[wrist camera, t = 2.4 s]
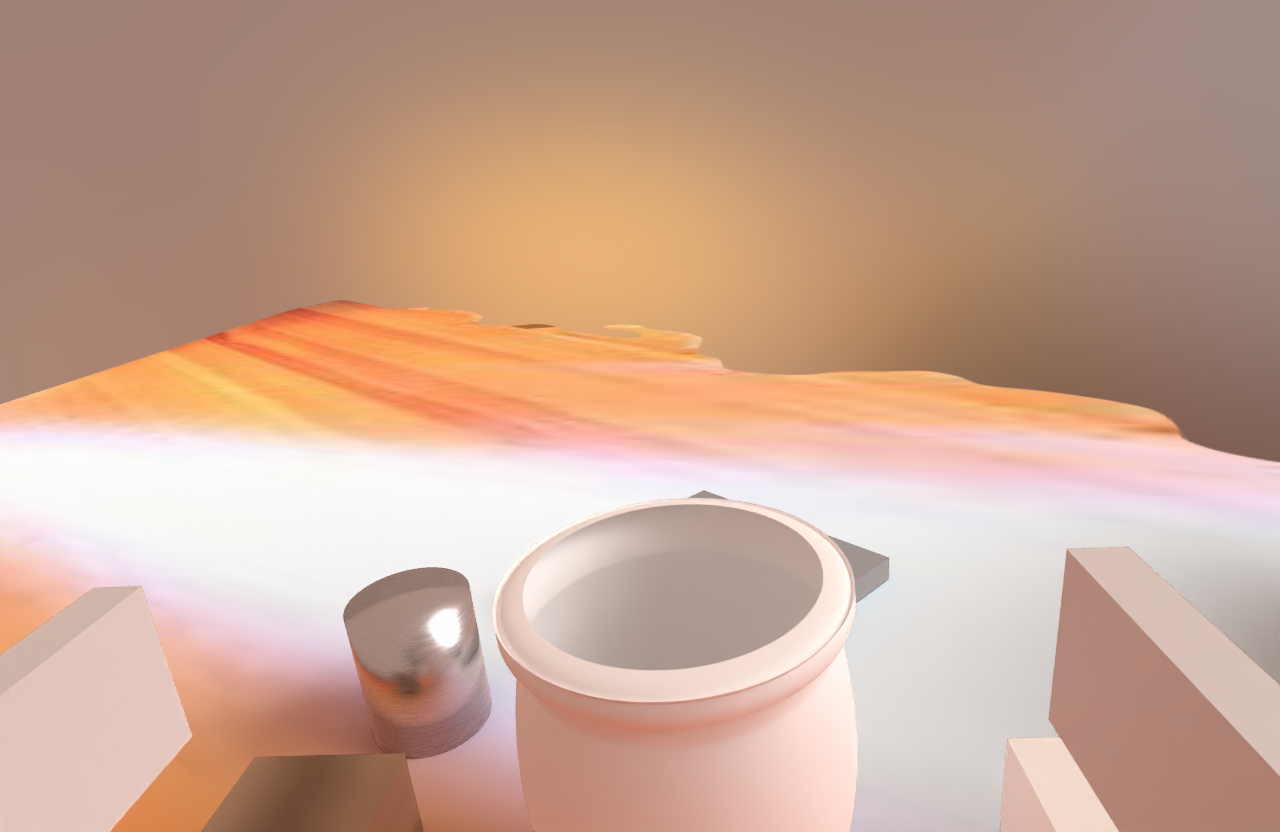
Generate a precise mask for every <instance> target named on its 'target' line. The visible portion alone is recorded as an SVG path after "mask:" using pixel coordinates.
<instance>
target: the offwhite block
mask: <svg viewBox="0 0 1280 832" xmlns="http://www.w3.org/2000/svg"><path fill="white" fill-rule="evenodd" d="M1000 832H1119V831H1118V829H1117V828H1116V826H1115V825H1114V823H1113V821H1112V820H1111V818H1110V817H1109V815H1108V813H1107V812H1106V810H1105V809H1104V807H1103V805H1102V804H1101V802H1100V801H1099V799H1098V797H1097V796H1096V794H1095V793H1094V791H1093V789H1092V788H1091V786H1090V785H1089V783H1088V781H1087V780H1086V778H1085V777H1084V775H1083V773H1082V772H1081V770H1080V769H1079V767H1078V765H1077V764H1076V762H1075V760H1074V759H1073V757H1072V756H1071V754H1070V752H1069V751H1068V749H1067V748H1066V746H1065V744H1064V743H1063V741H1062V740H1061V738H1060V737H1048V738H1008V739H1007V747H1006V760H1005V773H1004V785H1003V798H1002V811H1001V824H1000Z"/></svg>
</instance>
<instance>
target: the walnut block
mask: <svg viewBox="0 0 1280 832" xmlns="http://www.w3.org/2000/svg"><path fill="white" fill-rule="evenodd" d="M201 832H424V831H423V827H422V823H421V819H420V815H419V811H418V806H417V802H416V798H415V794H414V790H413V786H412V782H411V778H410V774H409V770H408V766H407V761H406V757H405V753H397V754H357V755H316V756H275V757H255V758H254V759H253V761H252V762H251V764H250V765H249V766H248V768H247V769H246V770H245V772H244V773H243V775H242V776H241V777H240V779H239V780H238V781H237V783H236V784H235V786H234V787H233V788H232V790H231V791H230V793H229V794H228V795H227V797H226V798H225V799H224V801H223V802H222V804H221V805H220V806H219V808H218V809H217V810H216V812H215V813H214V815H213V816H212V817H211V819H210V820H209V822H208V823H207V824H206V826H205V827H204V828H203V830H202V831H201Z"/></svg>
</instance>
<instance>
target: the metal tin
mask: <svg viewBox="0 0 1280 832" xmlns="http://www.w3.org/2000/svg"><path fill="white" fill-rule="evenodd" d="M343 617H344V623H345V627H346V630H347V634H348V638H349V642H350V646H351V650H352V653H353V657H354V661H355V665H356V669H357V673H358V677H359V680H360V684H361V688H362V692H363V696H364V700H365V704H366V707H367V711H368V715H369V719H370V723H371V727H372V730H373V734H374V738H375V741H376V743H377V745H378V746H379V747H380V748H381V749H382V750H383V751H384V752H386V753H387V754H397V753H405V757H406V759H418V758H426V757H431V756H435V755H439V754H441V753H444V752H447V751H449V750H451V749H454V748H456V747H457V746H459V745H461V744H463V743H464V742H466V741H467V740H469V739H470V738H471V737H472V736H473V735H475V734H476V733H477V732H478V731H479V730H480V729H481V727H482V726H483V725H484V723H485V722H486V720H487V719H488V716H489V714H490V711H491V706H492V701H491V695H490V690H489V685H488V680H487V674H486V669H485V664H484V659H483V654H482V649H481V643H480V638H479V633H478V628H477V623H476V618H475V612H474V607H473V602H472V597H471V592H470V586H469V583H468V580H467V579H466V578H465V577H464V576H463V575H462V574H460V573H459V572H457V571H454V570H451V569H446V568H436V567H429V568H418V569H412V570H407V571H403V572H399V573H396V574H393V575H390V576H387V577H385V578H382V579H380V580H378V581H376V582H374V583H372V584H370V585H369V586H367V587H366V588H364V589H363V590H361V591H360V592H359V593H357V594H356V595H355V596H354V597H353V598H352V599H351V600H350V601H349V603H348V604H347V606H346V608H345V610H344V615H343Z"/></svg>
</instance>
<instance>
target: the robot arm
mask: <svg viewBox="0 0 1280 832" xmlns="http://www.w3.org/2000/svg"><path fill="white" fill-rule="evenodd" d="M1049 720H1050V722H1051V724H1052V725H1053V727H1054V728H1055V730H1056V732H1057V733H1058V735H1059V736H1060V738H1061V740H1062V741H1063V743H1064V744H1065V746H1066V748H1067V749H1068V751H1069V752H1070V754H1071V756H1072V757H1073V759H1074V760H1075V762H1076V764H1077V765H1078V767H1079V769H1080V770H1081V772H1082V773H1083V775H1084V777H1085V778H1086V780H1087V781H1088V783H1089V785H1090V786H1091V788H1092V789H1093V791H1094V793H1095V794H1096V796H1097V797H1098V799H1099V801H1100V802H1101V804H1102V805H1103V807H1104V809H1105V810H1106V812H1107V813H1108V815H1109V817H1110V818H1111V820H1112V821H1113V823H1114V825H1115V826H1116V828H1117V829H1118V831H1119V832H1280V685H1279V684H1278V683H1277V682H1276V681H1275V680H1274V679H1273V678H1272V677H1271V676H1269V675H1268V674H1267V673H1266V672H1265V671H1264V670H1263V669H1262V668H1261V667H1260V666H1258V665H1257V664H1256V663H1255V662H1254V661H1253V660H1252V659H1251V658H1250V657H1249V656H1247V655H1246V654H1245V653H1244V652H1243V651H1242V650H1241V649H1240V648H1239V647H1238V646H1236V645H1235V644H1234V643H1233V642H1232V641H1231V640H1230V639H1229V638H1228V637H1227V636H1226V635H1224V634H1223V633H1222V632H1221V631H1220V630H1219V629H1218V628H1217V627H1216V626H1215V625H1213V624H1212V623H1211V622H1210V621H1209V620H1208V619H1207V618H1206V617H1205V616H1204V615H1202V614H1201V613H1200V612H1199V611H1198V610H1197V609H1196V608H1195V607H1194V606H1193V605H1191V604H1190V603H1189V602H1188V601H1187V600H1186V599H1185V598H1184V597H1183V596H1182V595H1180V594H1179V593H1178V592H1177V591H1176V590H1175V589H1174V588H1173V587H1172V586H1171V585H1169V584H1168V583H1167V582H1166V581H1165V580H1164V579H1163V578H1162V577H1161V576H1160V575H1158V574H1157V573H1156V572H1155V571H1154V570H1153V569H1152V568H1151V567H1150V566H1149V565H1147V564H1146V563H1145V562H1144V561H1143V560H1142V559H1141V558H1140V557H1139V556H1138V555H1136V554H1135V553H1134V552H1133V551H1132V550H1131V549H1130V548H1129V547H1109V548H1084V549H1067V553H1066V563H1065V572H1064V581H1063V591H1062V600H1061V610H1060V619H1059V628H1058V638H1057V647H1056V656H1055V666H1054V675H1053V685H1052V694H1051V703H1050V713H1049ZM191 737H192V733H191V730H190V727H189V725H188V722H187V719H186V716H185V713H184V710H183V707H182V704H181V701H180V698H179V695H178V692H177V689H176V686H175V683H174V680H173V677H172V674H171V671H170V668H169V665H168V662H167V659H166V656H165V654H164V651H163V648H162V645H161V642H160V639H159V636H158V633H157V630H156V627H155V624H154V621H153V618H152V615H151V612H150V609H149V606H148V603H147V600H146V597H145V594H144V591H143V588H142V586H126V587H100V588H93V589H91V590H90V591H89V592H87V593H86V594H84V595H83V596H82V597H80V598H79V599H78V600H76V601H75V602H73V603H72V604H71V605H69V606H68V607H66V608H65V609H64V610H62V611H61V612H59V613H58V614H57V615H55V616H54V617H53V618H51V619H50V620H48V621H47V622H46V623H44V624H43V625H41V626H40V627H39V628H37V629H36V630H34V631H33V632H32V633H30V634H29V635H28V636H26V637H25V638H23V639H22V640H21V641H19V642H18V643H16V644H15V645H14V646H12V647H11V648H9V649H8V650H7V651H5V652H4V653H3V654H1V655H0V832H110V831H111V830H112V828H113V827H114V826H115V825H116V824H117V823H118V822H119V820H120V819H121V818H122V817H123V816H124V815H125V813H126V812H127V811H128V810H129V809H130V808H131V807H132V805H133V804H134V803H135V802H136V801H137V800H138V798H139V797H140V796H141V795H142V794H143V793H144V791H145V790H146V789H147V788H148V787H149V786H150V785H151V783H152V782H153V781H154V780H155V779H156V778H157V776H158V775H159V774H160V773H161V772H162V771H163V770H164V768H165V767H166V766H167V765H168V764H169V763H170V761H171V760H172V759H173V758H174V757H175V756H176V755H177V753H178V752H179V751H180V750H181V749H182V748H183V746H184V745H185V744H186V743H187V742H188V741H189V739H190V738H191Z"/></svg>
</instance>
